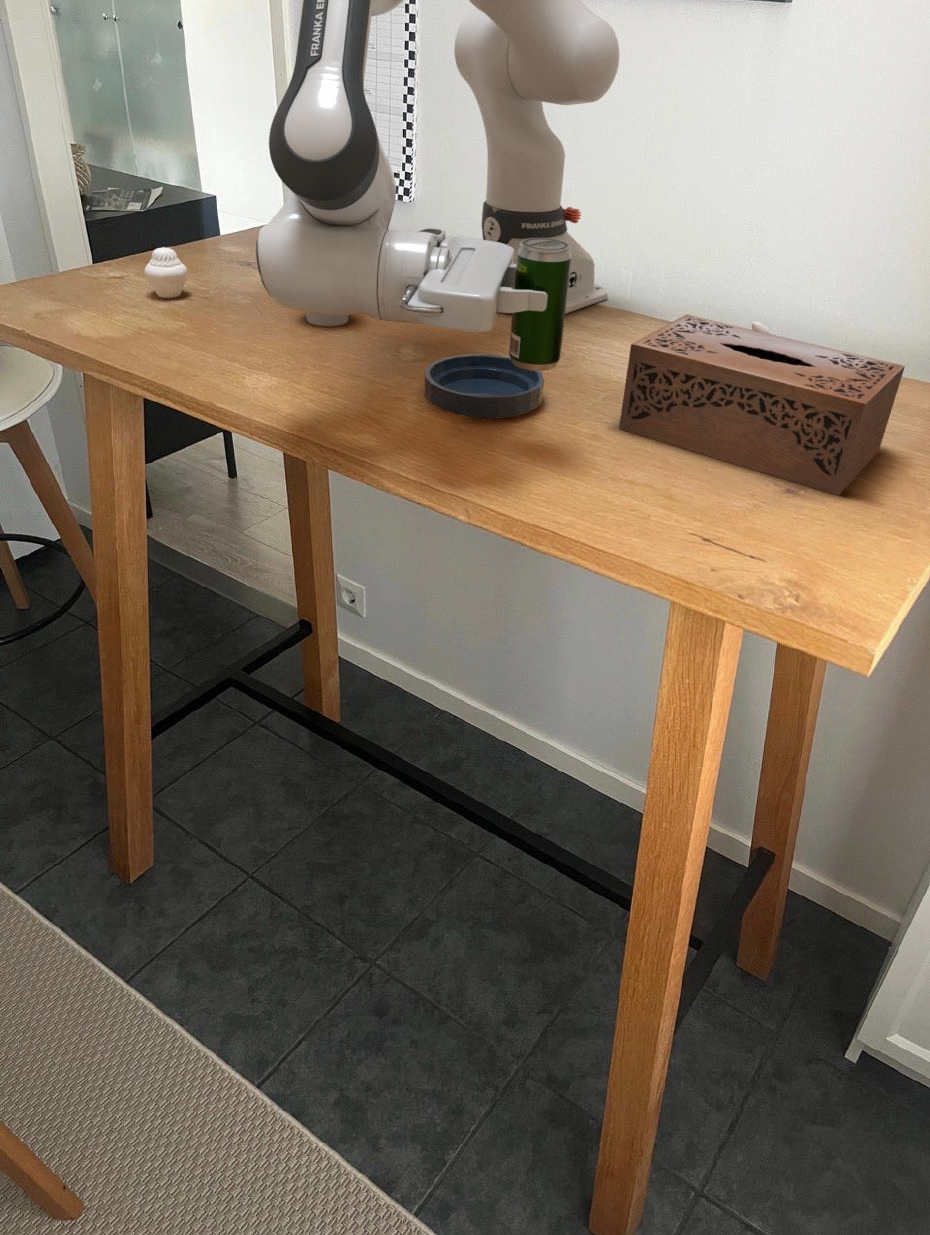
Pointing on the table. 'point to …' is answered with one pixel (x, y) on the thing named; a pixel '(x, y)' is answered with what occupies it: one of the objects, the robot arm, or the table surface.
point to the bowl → (483, 386)
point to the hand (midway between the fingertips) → (550, 291)
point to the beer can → (543, 330)
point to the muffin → (166, 273)
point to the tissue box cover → (760, 400)
